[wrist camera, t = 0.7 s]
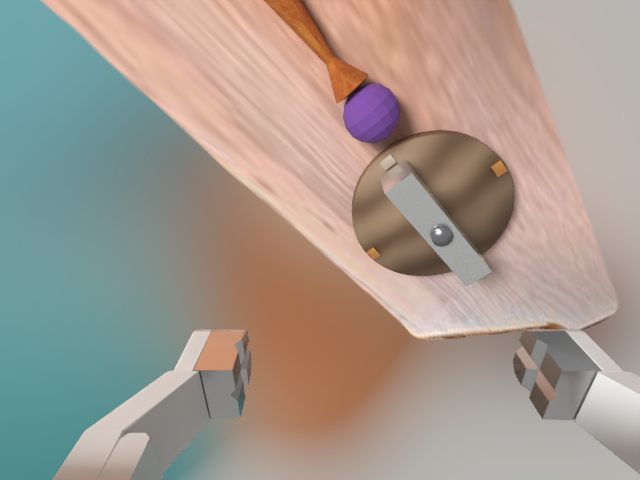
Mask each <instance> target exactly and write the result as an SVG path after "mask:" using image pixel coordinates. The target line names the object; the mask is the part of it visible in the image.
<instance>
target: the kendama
mask: <svg viewBox="0 0 640 480" xmlns="http://www.w3.org/2000/svg"><path fill="white" fill-rule="evenodd" d="M265 1H266V2H267V3H268V4H269V5H270V7H271V8H272V9H273V10H274V11H275V12H276V13H277V14H278V15H279V16H280V17H281V18H282V19H283V20H284V21H285V22H286V23H287V24H288V25H289V26H290V27H291V28H292V29H293V30H294V31H295V33H296V34H297V35H298V36H299V37H300V38H301V39H302V40H303V41H304V42H305V43H306V44H307V45H308V46H309V47H310V48H311V49H312V50H313V51H314V52H315V53H316V54H317V55H318V56H319V57H320V59H321V60H322V61H323V62H324V63H325V64H326V65H327V68H328V72H329V76H330V80H331V83H332V87H333V91H334V95H335V99H336V102H337V103H338V102H340V101H342V100H343V99H345V98H346V97H348V96H349V97H348V99H347V101H346V103H345V105H344V115H343V119H344V122H345V126H346V129H347V130H348V131H349V133H350V134H351V135H352V136H353V137H354V138H356V139H358V140H359V141H361V142H368V143H376V142H378V141H381V140H383V139H386V138H387V137H388V136H390V135H391V133H392V132H393V130H394V129H395V127H396V126H397V124H398V121H399V115H400V109H399V104H398V100H397V99H396V97H395V96H394V95H393V93H392V92H391V90H390V89H388V88H386V87H384V86H383V85H381V84H372V83H368V84H366V85H363V86H360V85H361V83H362V82H363V81H364V80H365V78H366V77H367V76H368V74H366V73H364V72H362V71H360V70H359V69H357V68H355V67H353V66H351V65H349V64H347V63H345V62H343V61H341V60H340V59H338V58H336V57H334V55H333V53H332V52H331V50H330V48H329V47H328V45H327V43H326V42H325V40H324V38H323V37H322V35H321V33H320V32H319V30H318V28H317V27H316V25H315V23H314V22H313V20H312V18H311V17H310V15H309V13H308V12H307V10H306V9H305V7H304V5H303V4H302V2H301V0H265ZM359 86H360V87H359Z"/></svg>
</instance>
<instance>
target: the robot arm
mask: <svg viewBox="0 0 640 480" xmlns="http://www.w3.org/2000/svg"><path fill="white" fill-rule="evenodd" d="M519 341H520V343H521V344H522V347H521V348H520V349H518V350H517V351H516V352H515V356H514V359H513V364H514V372H515V374H516V377H517V379H518V381H519V382H520V384H521V385H522V386H523V387H525V388H526V389H528V390H529V391H531V392H530V400H531V401H532V403H533V405H534V406H535V408H536V410H537V411H538V413H539V414H540V416H541V417H542V419H555V420H557V419H558V420H575V422H576V423H577V424H578V425H579V426H581V427H582V428H583V429H584V430H585V431H587V432H588V433H589V434H590V435H592V436H593V437H594V438H595V439H596V440H598V441H599V442H600V443H602V444H603V445H604V446H605V447H607V448H608V449H609V450H610V451H611V452H613V453H614V454H615V455H617V456H618V457H619V458H620V459H621V460H623V461H624V462H625V463H626V464H628V465H629V466H630V467H631V468H633V469H634V470H635V471H636V472H638V473H639V474H640V377H639V376H637V375H635V374H633V373H631V372H624V371H623V370H622V369H621V368H620V367H619V366H618V365H617V364H616V363H615V362H614V361H613V360H612V359H611V358H610V357H609V356H608V355H607V354H606V353H605V352H604V351H603V350H602V349H601V348H600V347H599V346H598V345H597V344H596V343H595V342H594V341H593V340H592V339H591V338H590V337H589V336H588V335H587V334H586V333H585V332H583V331H581V330H579V329H560V330H524V331H523V332H522V334H521V336H520V339H519ZM248 343H249V337H248V332H247V331H246V330H223V329H222V330H221V329H213V330H207V329H197V330H195V331H194V332H193V334H192V335H191V338H190V339H189V341H188V343H187V346H186V347H185V349H184V351H183V354H182V355H181V357H180V359H179V361H178V363H177V365H176V367H175V369H174V371H168V372H166V373H165V374H163V375H162V376H161V377H159V378H158V379H156V380H155V381H154V382H152V383H151V384H150V385H148V386H147V387H145V388H144V389H143V390H142V391H140V392H138V393H137V394H136V395H134V396H133V397H132V398H130V399H129V400H127V401H126V402H124V403H123V404H122V405H120V406H119V407H118V408H116V409H115V410H113V411H112V412H110V413H109V414H108V415H106V416H105V417H104V418H102V419H101V420H99V421H98V422H97V423H95V424H94V425H92V426H91V427H90V428H88V429H87V430H86V431H85V432H84V433H83V434H82V436H81V437H80V439H79V440H78V442H77V443H76V445H75V447H74V448H73V449H72V451H71V452H70V454H69V455H68V457H67V459H66V460H65V461H64V463H63V464H62V466H61V467H60V469H59V470H58V472H57V473H56V475H55V476H54V478H53V479H52V480H164V478H163V475H162V474H163V473H164V471H165V470H166V469H167V468H168V467H169V466H170V464H172V462H173V461H174V460H175V459H176V458H177V457H178V456H179V455H180V453H181V452H182V451H183V450H184V449H185V448H186V447H187V446H188V445H189V444H190V442H191V441H192V440H193V439H194V438H195V437H196V436H197V434H198V433H199V432H200V431H201V430H202V429H203V428H204V427H205V426H206V425H207V423H208V422H209V421H210V419H222V418H240V417H241V413H242V409H243V405H244V401H245V391H244V388H245V387H246V386H247V385H248V384H249V380H250V376H251V365H252V363H251V352H250V351H249V350H248V349H247V346H248Z"/></svg>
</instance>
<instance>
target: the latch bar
mask: <svg viewBox="0 0 640 480" xmlns="http://www.w3.org/2000/svg"><path fill="white" fill-rule="evenodd" d="M380 179H381V183H382V186H383V190H384V194H385V195H386V196H387V197H388V198H389V199H390V200H391V202H392V203H393V204H394V205H395V206H396V207H397V208H398V210H399V211H400V212H401V213H402V214H403V215H404V216H405V217H406V219H407V220H408V221H409V222H410V223H411V224H412V225H413V227H414V228H415V229H416V230H417V231H418V232H419V233H420V235H421V236H422V237H423V238H424V239H425V240H426V241H427V243H428V244H429V245H430V246H431V247H432V248H433V249H434V250H435V252H436V253H437V254H438V255H439V256H440V257H441V258H442V260H443V261H444V262H445V263H446V264H447V265H448V266H449V268H450V269H451V270H452V271H453V272H454V273H455V274H456V276H457V277H458V278H459V279H460V280H461V281H462V282H463V284H464V285H465V286H468V285H470V284H471V283H473V282H475V281H477V280H479V279H480V278H482V277H484V276H486V275H488V274H489V273H491V272H492V271H491V270H490V268H489V267H488V265H487V263H486V262H485V260H484V259H483V257H482V255H481V254H480V252H479V251H478V250H477V248H476V247H475V246H474V245H473V243H472V242H471V241H470V240H469V238H468V237H467V236H466V235H465V233H464V232H463V231H462V230H461V228H460V227H459V226H458V225H457V223H456V222H455V221H454V220H453V218H452V217H451V216H450V215H449V213H448V212H447V211H446V210H445V208H444V207H443V206H442V205H441V203H440V202H439V201H438V200H437V198H436V197H435V196H434V195H433V193H432V192H431V191H430V190H429V189H428V187H427V186H426V185H425V184H424V182H423V181H422V180H421V179H420V177H419V176H418V175H417V174H416V172H415V171H414V170H413V169H412V167H411V166H410V165H409V164H408V162H407V161H406V160H405V159H404V160H403V161H401V162H400V163H399V164H398V165H396V166H395V167H394V168H392V169H391V170H390V171H389V172H387V173H386V174H385V175H383V176H382V177H381V178H380Z"/></svg>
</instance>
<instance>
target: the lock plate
mask: <svg viewBox="0 0 640 480" xmlns="http://www.w3.org/2000/svg"><path fill="white" fill-rule="evenodd" d="M404 159H405V160H406V161H407V162H408V164H409V165H410V166H411V167H412V169H413V170H414V171H415V172H416V174H417V175H418V176H419V177H420V179H421V180H422V181H423V182H424V184H425V185H426V186H427V187H428V189H429V190H430V191H431V192H432V193H433V195H434V196H435V197H436V198H437V200H438V201H439V202H440V203H441V205H442V206H443V207H444V208H445V210H446V211H447V212H448V213H449V215H450V216H451V217H452V218H453V220H454V221H455V222H456V223H457V225H458V226H459V227H460V228H461V230H462V231H463V232H464V233H465V235H466V236H467V237H468V238H469V240H470V241H471V242H472V243H473V245H474V246H475V247H476V248H477V250H478V251H479V252H480V254H481V255H482V254H484V253H485V252H486V251H487V250H488V249H489V248H490V247H491V246H492V245H493V244H494V243H495V242H496V241H497V240H498V238H499V237H500V236H501V234H502V233H503V231H504V229H505V228H506V226H507V224H508V221H509V219H510V216H511V213H512V210H513V204H514V186H513V181H512V178H511V175H510V172H509V170H508V168H507V167H506V165H505V163H504V162H503V161H502V159H501V158H500V157H499V156H498V155H497V154H496V153H495V152H494V151H493V150H491V149H490V148H489V147H488V146H487V145H485V144H484V143H482V142H481V141H479V140H478V139H476V138H474V137H471V136H469V135H466V134H463V133H459V132H454V131H446V130H445V131H428V132H422V133H418V134H414V135H411V136H409V137H406V138H404V139H401V140H399V141H397V142H396V143H394V144H392V145H390V146H389V147H388V148H386V149H385V150H383V151H382V152H381V153H380V154H379V155H378V156H376V157H375V158H374V159H373V160H372V162H371V163H370V164H369V165H368V166H367V168H366V169H365V171H364V172H363V174H362V175H361V177H360V179H359V181H358V183H357V186H356V189H355V192H354V196H353V201H352V217H353V226H354V230H355V234H356V237H357V239H358V241H359V243H360V245H361V246H362V248H363V249H364V251H365V252H366V253H367V254H368V255H369V256H370V257H371V258H372V259H373V260H374V261H375V262H377V263H378V264H380V265H381V266H383V267H385V268H387V269H389V270H392V271H395V272H398V273H402V274H406V275H414V276H429V275H437V274H442V273H446V272H450V271H452V270H451V269H450V268H449V266H448V265H447V264H446V263H445V262H444V261H443V260H442V258H441V257H440V256H439V255H438V254H437V253H436V252H435V250H434V249H433V248H432V247H431V246H430V245H429V244H428V243H427V241H426V240H425V239H424V238H423V237H422V236H421V235H420V233H419V232H418V231H417V230H416V229H415V228H414V227H413V225H412V224H411V223H410V222H409V221H408V220H407V219H406V217H405V216H404V215H403V214H402V213H401V212H400V211H399V210H398V208H397V207H396V206H395V205H394V204H393V203H392V202H391V200H390V199H389V198H388V197H387V196H386V195H385V194H384V190H383V186H382V183H381V179H380V178H381V177H382V176H383V175H385V174H386V173H387V172H389V171H390V170H391V169H392V168H394V167H395V166H396V165H398V164H399V163H400V162H401V161H403V160H404Z"/></svg>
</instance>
